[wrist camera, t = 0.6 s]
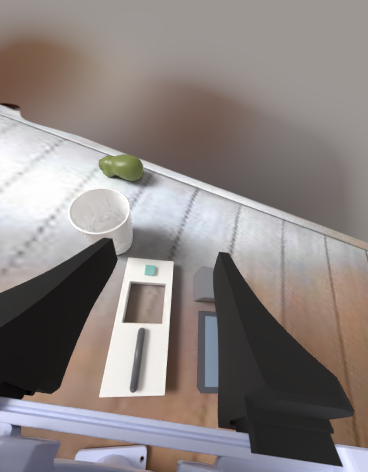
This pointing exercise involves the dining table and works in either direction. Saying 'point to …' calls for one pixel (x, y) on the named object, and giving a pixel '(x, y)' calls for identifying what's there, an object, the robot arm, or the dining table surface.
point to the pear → (122, 167)
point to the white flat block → (139, 338)
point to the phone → (207, 353)
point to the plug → (204, 285)
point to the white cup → (103, 217)
